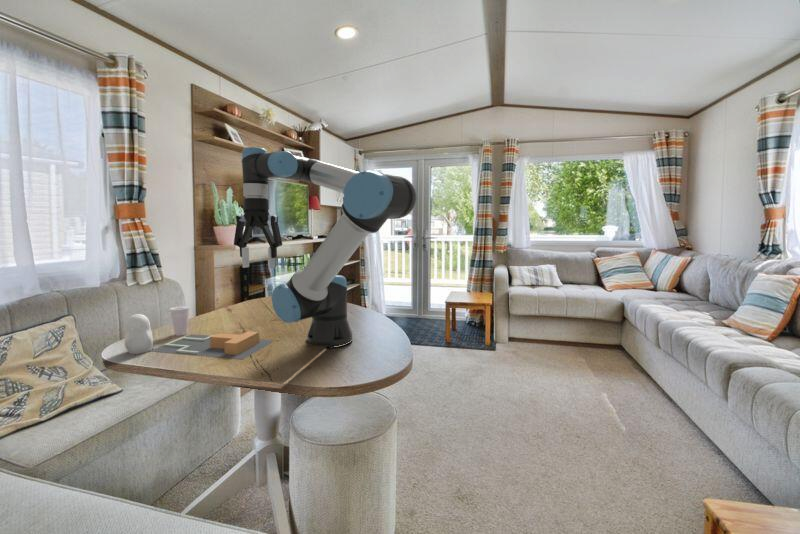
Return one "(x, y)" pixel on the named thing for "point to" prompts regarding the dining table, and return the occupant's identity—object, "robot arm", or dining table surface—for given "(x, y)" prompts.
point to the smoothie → (180, 318)
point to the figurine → (138, 334)
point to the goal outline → (184, 347)
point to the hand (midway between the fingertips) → (258, 267)
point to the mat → (210, 352)
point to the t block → (234, 342)
